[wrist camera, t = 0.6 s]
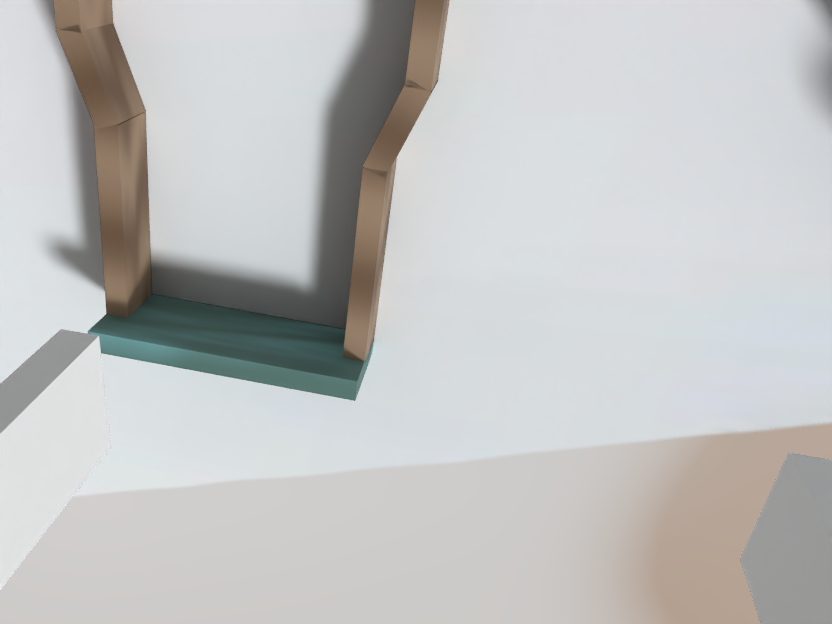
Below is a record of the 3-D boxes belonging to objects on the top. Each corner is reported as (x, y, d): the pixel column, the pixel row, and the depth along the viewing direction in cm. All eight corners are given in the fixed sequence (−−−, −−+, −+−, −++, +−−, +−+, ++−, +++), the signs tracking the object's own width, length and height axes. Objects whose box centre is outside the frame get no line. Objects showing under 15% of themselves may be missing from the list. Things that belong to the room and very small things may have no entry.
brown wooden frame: (70, -259, 31) (-4, -290, 27) (478, -200, 31) (471, -221, 26) (108, 304, 44) (61, 345, 40) (397, 357, 43) (383, 406, 39)
